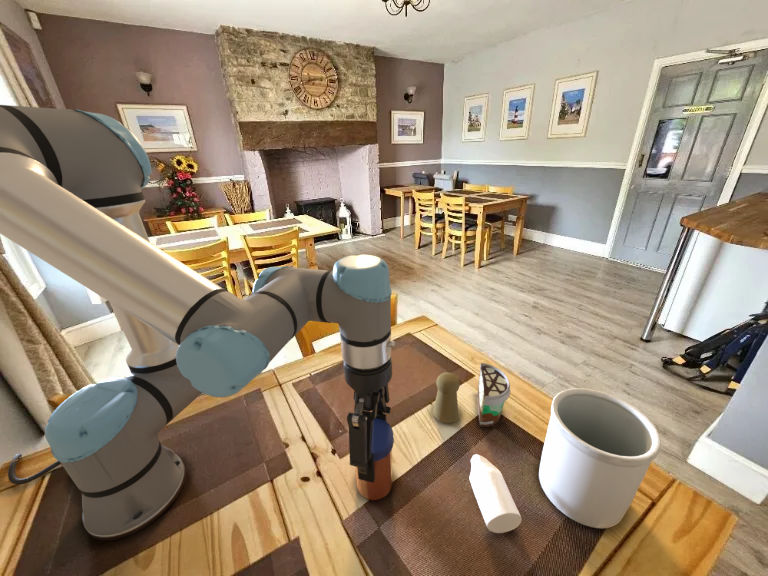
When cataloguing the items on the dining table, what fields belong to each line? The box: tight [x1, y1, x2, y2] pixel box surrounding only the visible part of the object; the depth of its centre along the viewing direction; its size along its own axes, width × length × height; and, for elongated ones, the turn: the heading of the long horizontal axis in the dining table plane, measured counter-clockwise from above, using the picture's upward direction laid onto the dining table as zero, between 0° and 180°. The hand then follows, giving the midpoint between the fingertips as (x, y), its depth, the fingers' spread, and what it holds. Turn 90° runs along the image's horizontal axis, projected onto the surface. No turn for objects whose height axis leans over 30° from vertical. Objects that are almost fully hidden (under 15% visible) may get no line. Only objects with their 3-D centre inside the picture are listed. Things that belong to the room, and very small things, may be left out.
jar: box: [354, 449, 393, 501], centre depth 57 cm, size 7×7×12 cm
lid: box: [371, 418, 395, 461], centre depth 55 cm, size 8×8×2 cm
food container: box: [476, 362, 511, 428], centre depth 72 cm, size 12×6×10 cm, turn 168°
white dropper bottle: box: [468, 453, 523, 534], centre depth 56 cm, size 6×12×6 cm, turn 6°
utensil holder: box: [538, 387, 662, 529], centre depth 54 cm, size 15×15×18 cm
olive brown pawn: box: [432, 371, 461, 424], centre depth 72 cm, size 6×6×11 cm
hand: (373, 457), depth 57 cm, fingers closed on lid, 7 cm apart
